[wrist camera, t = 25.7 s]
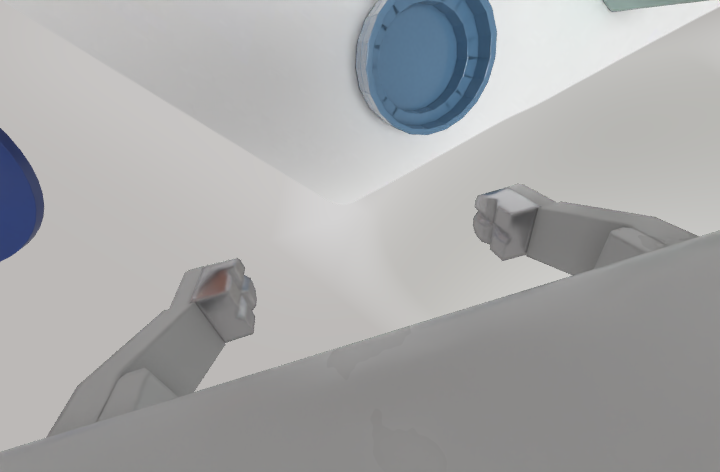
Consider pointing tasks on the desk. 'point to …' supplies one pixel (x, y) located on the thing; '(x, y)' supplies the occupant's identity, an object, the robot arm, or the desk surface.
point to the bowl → (425, 61)
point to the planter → (641, 4)
